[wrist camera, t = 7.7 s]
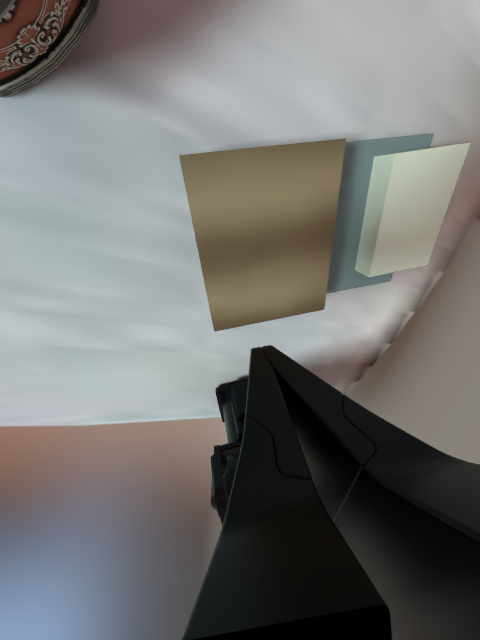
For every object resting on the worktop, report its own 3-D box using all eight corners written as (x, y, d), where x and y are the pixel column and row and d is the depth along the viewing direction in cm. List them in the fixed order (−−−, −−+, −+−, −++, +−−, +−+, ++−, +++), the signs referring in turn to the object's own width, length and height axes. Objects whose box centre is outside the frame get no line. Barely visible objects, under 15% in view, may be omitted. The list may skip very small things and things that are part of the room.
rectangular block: (368, 277, 20) (354, 270, 22) (427, 264, 21) (409, 258, 22) (394, 153, 15) (374, 156, 17) (470, 142, 16) (443, 146, 17)
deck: (308, 295, 22) (324, 309, 20) (210, 313, 21) (214, 331, 19) (320, 145, 16) (346, 138, 13) (180, 160, 15) (179, 155, 12)
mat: (388, 280, 23) (390, 281, 23) (308, 295, 22) (310, 296, 22) (429, 134, 17) (433, 133, 17) (320, 145, 16) (322, 144, 16)
